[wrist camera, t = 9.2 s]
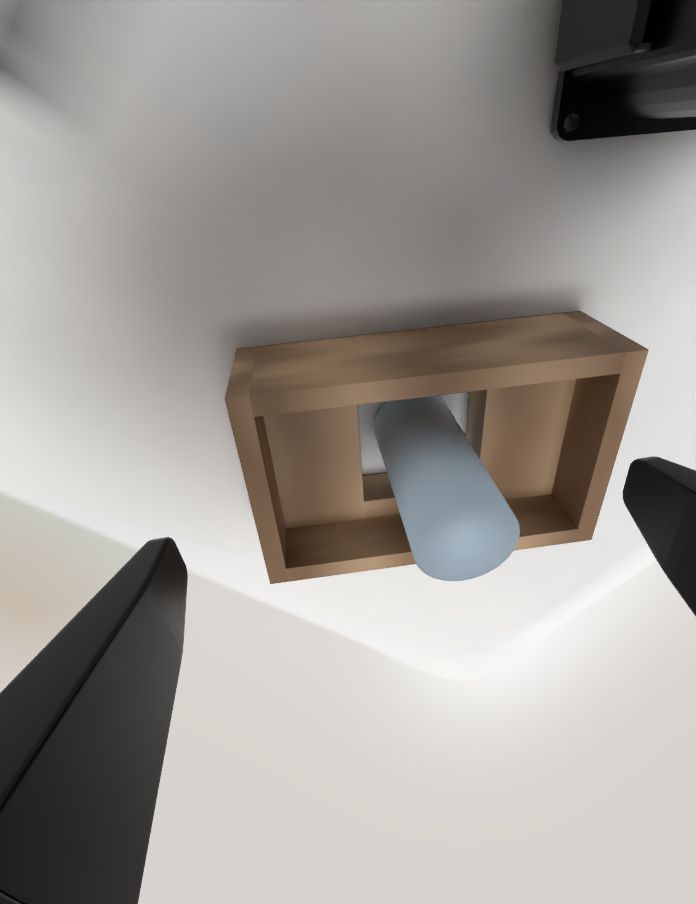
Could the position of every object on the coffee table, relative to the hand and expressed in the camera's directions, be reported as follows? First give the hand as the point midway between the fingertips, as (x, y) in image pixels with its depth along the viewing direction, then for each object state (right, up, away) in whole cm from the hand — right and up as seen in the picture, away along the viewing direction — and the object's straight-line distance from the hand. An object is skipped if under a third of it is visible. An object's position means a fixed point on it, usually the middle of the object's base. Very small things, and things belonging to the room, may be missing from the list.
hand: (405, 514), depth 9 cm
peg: (+2, +3, +13) cm, 13 cm away
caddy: (+2, +3, +13) cm, 13 cm away
